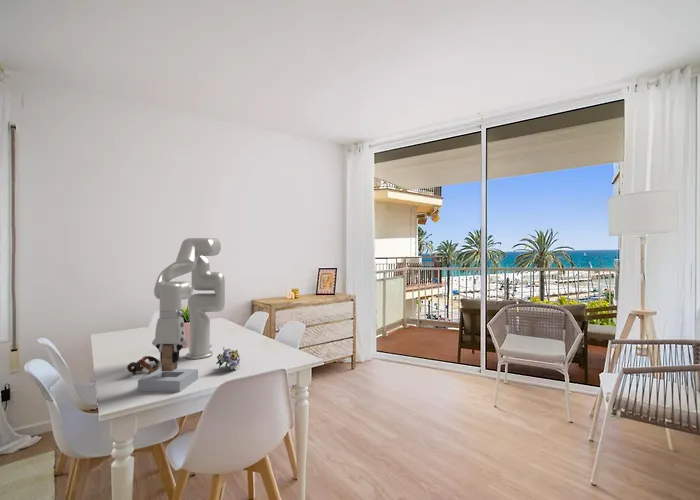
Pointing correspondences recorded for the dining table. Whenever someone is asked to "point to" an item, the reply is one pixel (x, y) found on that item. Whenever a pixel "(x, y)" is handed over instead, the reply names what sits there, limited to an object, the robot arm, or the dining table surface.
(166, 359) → the wood grain block
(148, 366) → the dark brown looped piece
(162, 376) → the well block
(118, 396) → the dining table surface
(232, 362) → the passion flower
